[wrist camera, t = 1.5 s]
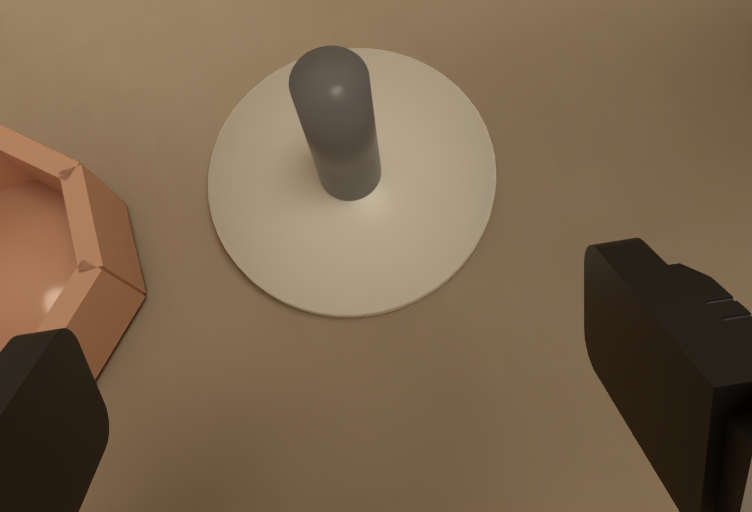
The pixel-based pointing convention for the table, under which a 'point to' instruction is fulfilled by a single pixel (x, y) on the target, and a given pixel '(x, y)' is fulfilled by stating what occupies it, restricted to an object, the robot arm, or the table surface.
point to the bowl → (63, 250)
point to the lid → (352, 182)
